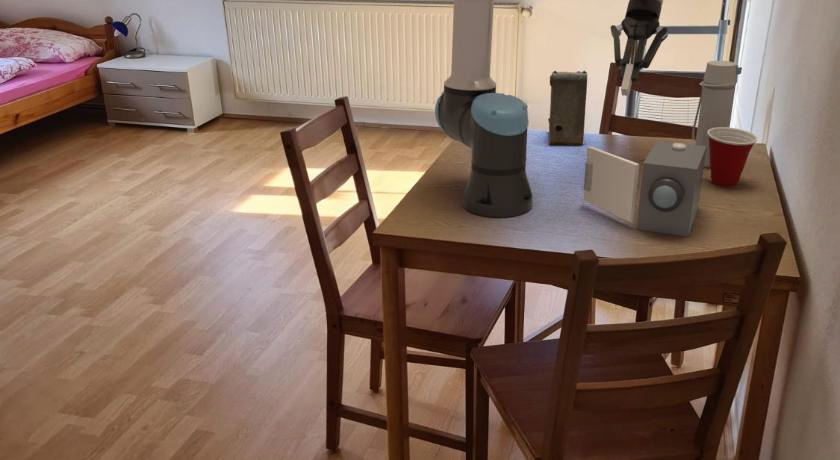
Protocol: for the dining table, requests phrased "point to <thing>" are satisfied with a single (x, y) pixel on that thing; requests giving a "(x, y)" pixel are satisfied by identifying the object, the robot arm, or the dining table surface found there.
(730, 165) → the plastic cup
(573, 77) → the vintage camera
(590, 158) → the side door
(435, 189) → the dining table surface
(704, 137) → the water bottle
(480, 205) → the robot arm
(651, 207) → the camera housing
